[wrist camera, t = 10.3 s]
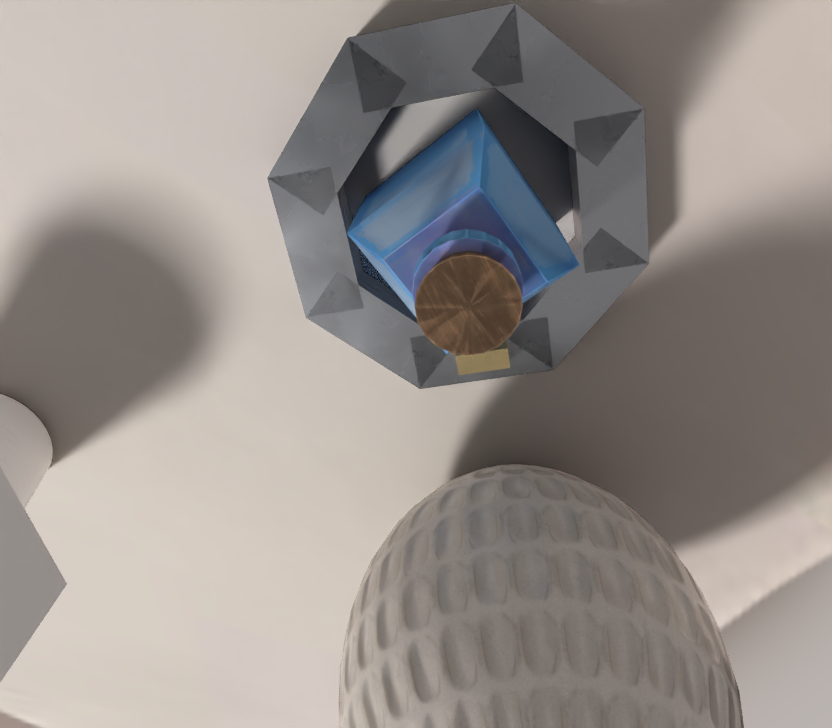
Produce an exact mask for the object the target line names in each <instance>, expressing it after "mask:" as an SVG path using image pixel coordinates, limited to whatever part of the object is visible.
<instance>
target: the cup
mask: <svg viewBox="0 0 832 728" xmlns="http://www.w3.org/2000/svg"><path fill="white" fill-rule="evenodd" d="M52 457H53V447H52V443H51V438H50V436H49V434H48V432H47V430H46V428H45V427H44V425H43V424H42V422H41V421H40V420H39V418H38V417H37V416H36V415H35V414H34V413H33V412H32V411H31V410H29V409H28V408H27V407H26V406H24V405H23V404H21V403H19V402H18V401H16V400H14V399H12V398H10V397H7V396H5V395H2V394H0V467H1V469H2V470H3V472H4V474H5V476H6V478H7V479H8V481H9V483H10V485H11V486H12V488H13V490H14V492H15V493H16V495H17V497H18V499H19V500H20V502H21V504H22V506H23V507H24V509H25V507H26V505H27V504H28V502H29V500H30V499H31V497H32V495H33V494H34V492H35V490H36V489H37V487H38V485H39V484H40V482H41V480H42V478H43V477H44V475H45V473H46V472H47V470H48V468H49V466H50V464H51V461H52Z"/></svg>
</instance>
